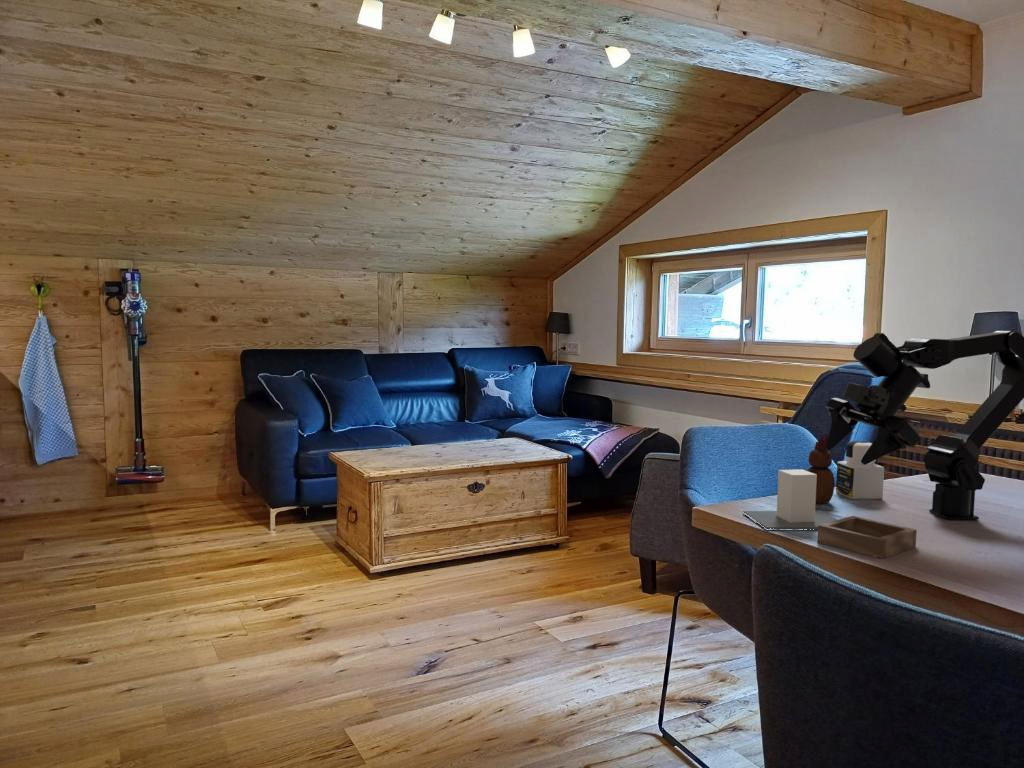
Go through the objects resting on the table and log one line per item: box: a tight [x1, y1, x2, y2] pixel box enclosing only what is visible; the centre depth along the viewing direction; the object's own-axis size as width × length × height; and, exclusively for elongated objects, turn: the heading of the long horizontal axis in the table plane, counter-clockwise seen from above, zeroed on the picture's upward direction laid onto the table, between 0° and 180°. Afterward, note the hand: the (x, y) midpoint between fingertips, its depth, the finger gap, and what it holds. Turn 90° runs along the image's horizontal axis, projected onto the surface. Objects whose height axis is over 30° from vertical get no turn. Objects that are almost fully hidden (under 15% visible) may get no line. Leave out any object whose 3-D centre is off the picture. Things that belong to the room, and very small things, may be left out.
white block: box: [776, 468, 817, 523], centre depth 147 cm, size 5×5×9 cm
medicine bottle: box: [835, 440, 885, 500], centre depth 170 cm, size 7×7×12 cm
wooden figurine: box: [806, 433, 835, 505], centre depth 163 cm, size 7×6×15 cm
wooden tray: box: [816, 515, 918, 559], centre depth 133 cm, size 11×11×3 cm
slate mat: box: [742, 510, 839, 531], centre depth 147 cm, size 16×12×1 cm
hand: (844, 455), depth 148 cm, fingers open, 9 cm apart
